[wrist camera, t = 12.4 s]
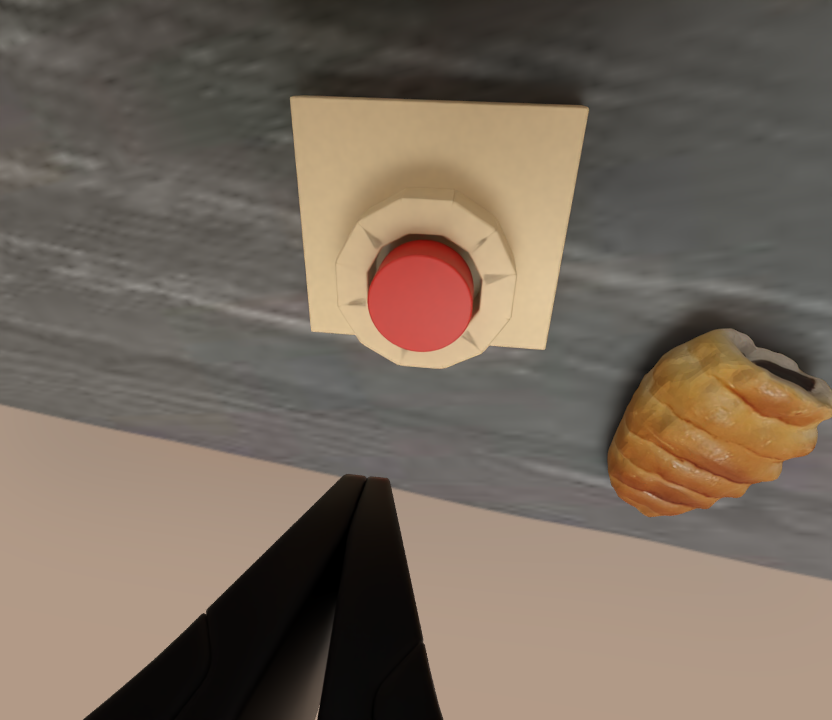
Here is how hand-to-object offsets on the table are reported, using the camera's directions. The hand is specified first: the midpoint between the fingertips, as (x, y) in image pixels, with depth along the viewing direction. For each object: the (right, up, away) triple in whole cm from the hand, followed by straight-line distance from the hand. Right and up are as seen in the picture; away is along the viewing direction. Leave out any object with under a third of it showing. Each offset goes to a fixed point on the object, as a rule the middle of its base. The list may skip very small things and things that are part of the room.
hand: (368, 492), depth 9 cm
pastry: (+14, 0, +13) cm, 19 cm away
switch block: (+2, +8, +10) cm, 13 cm away
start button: (+1, +5, +9) cm, 10 cm away
